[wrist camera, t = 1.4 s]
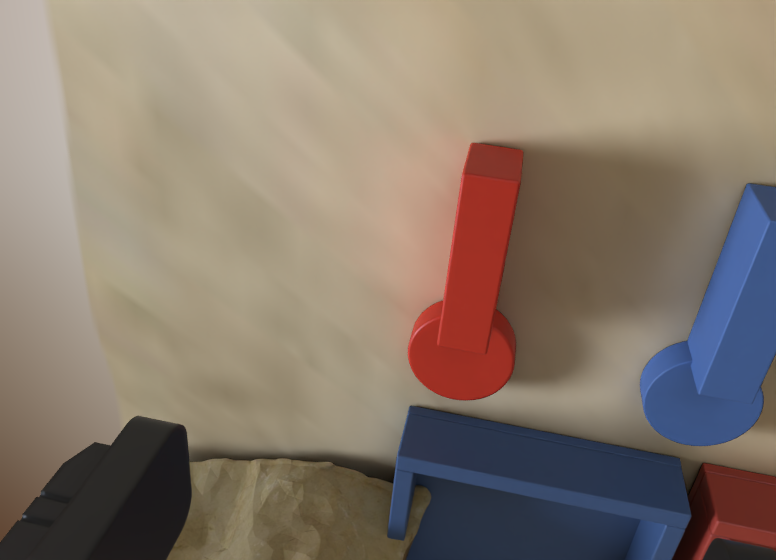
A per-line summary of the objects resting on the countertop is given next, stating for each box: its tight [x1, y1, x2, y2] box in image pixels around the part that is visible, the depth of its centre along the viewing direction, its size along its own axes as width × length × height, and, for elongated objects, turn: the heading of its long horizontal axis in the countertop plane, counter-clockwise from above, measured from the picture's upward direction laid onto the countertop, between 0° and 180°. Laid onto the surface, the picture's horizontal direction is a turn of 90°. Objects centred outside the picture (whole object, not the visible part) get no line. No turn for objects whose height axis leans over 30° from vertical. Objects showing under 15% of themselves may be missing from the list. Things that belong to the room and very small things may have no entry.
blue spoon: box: [640, 183, 776, 446], centre depth 19 cm, size 8×3×2 cm, turn 175°
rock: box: [166, 458, 431, 560], centre depth 24 cm, size 11×9×10 cm
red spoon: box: [408, 143, 523, 400], centre depth 20 cm, size 8×3×2 cm, turn 175°
